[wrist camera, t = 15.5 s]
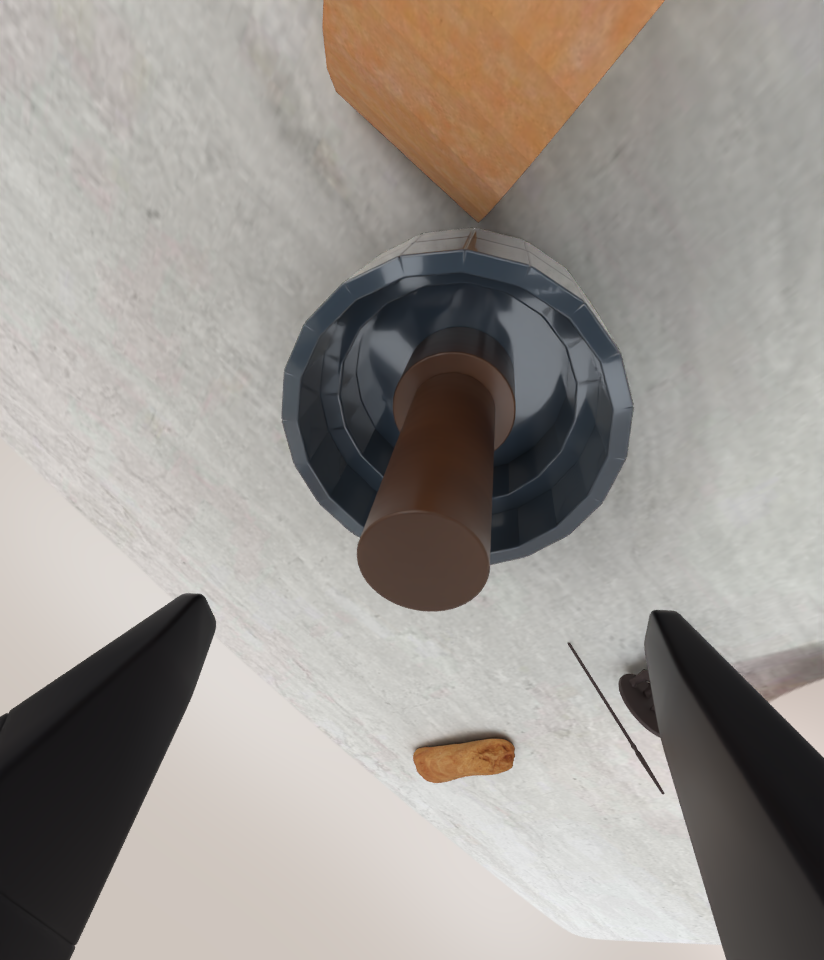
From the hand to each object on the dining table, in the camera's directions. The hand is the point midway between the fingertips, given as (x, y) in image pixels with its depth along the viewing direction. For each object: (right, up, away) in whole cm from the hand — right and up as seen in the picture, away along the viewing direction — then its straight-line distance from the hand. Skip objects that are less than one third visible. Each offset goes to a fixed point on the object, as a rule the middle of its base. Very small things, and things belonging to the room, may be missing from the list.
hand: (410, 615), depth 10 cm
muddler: (+2, +7, +10) cm, 12 cm away
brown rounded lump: (+3, -15, +24) cm, 29 cm away
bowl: (+2, +7, +11) cm, 13 cm away
